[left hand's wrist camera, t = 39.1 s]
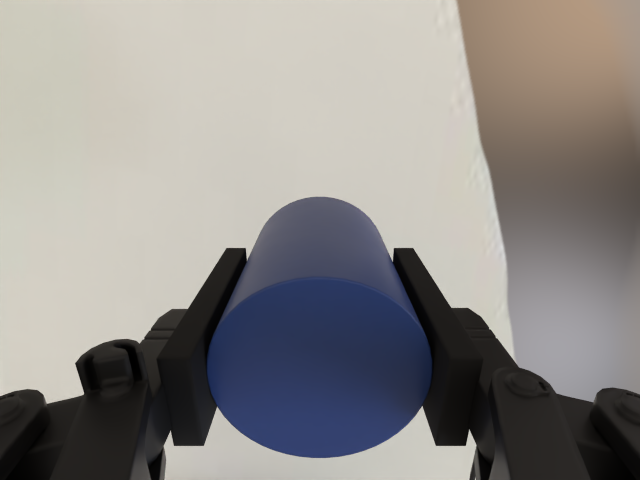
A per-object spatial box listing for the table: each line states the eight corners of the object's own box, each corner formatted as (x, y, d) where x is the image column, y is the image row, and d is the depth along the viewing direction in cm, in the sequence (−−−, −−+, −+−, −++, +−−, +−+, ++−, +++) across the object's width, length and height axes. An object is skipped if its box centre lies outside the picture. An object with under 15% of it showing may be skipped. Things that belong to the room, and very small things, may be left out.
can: (265, 184, 15) (217, 256, 8) (399, 210, 15) (465, 301, 8) (247, 302, 17) (196, 442, 10) (366, 323, 18) (397, 471, 10)
